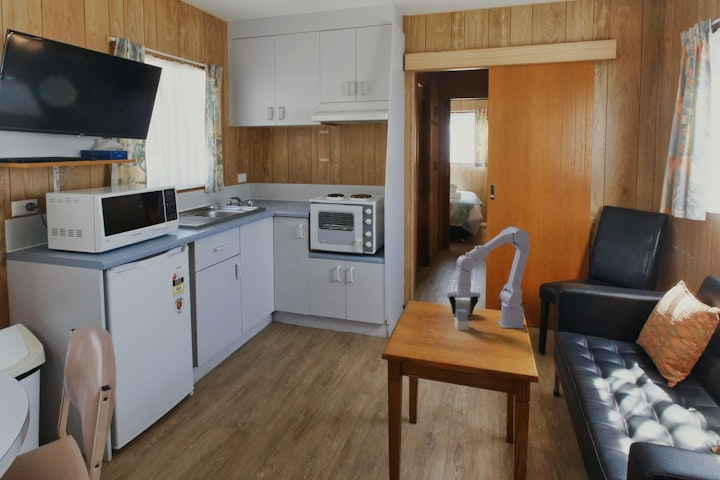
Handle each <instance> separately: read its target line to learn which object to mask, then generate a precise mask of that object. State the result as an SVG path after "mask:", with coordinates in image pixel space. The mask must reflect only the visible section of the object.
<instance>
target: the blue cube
mask: <svg viewBox="0 0 720 480" xmlns="http://www.w3.org/2000/svg"><path fill="white" fill-rule="evenodd" d="M468 317H469V315H468V312H467V311H466V309H457V310H456V316H455V318H456V319H457V320H458V321H467V319H468ZM468 320H469V319H468Z"/></svg>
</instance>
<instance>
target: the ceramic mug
mask: <svg viewBox="0 0 720 480" xmlns="http://www.w3.org/2000/svg"><path fill="white" fill-rule="evenodd" d="M455 300H456V304H455V314H453V313H452V315H453V316H455V317H456V310H457V309H466V311H467V312H468V316H471V315H472V314H470V299H461V298H460V299H459V298H455Z"/></svg>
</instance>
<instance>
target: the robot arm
mask: <svg viewBox="0 0 720 480" xmlns="http://www.w3.org/2000/svg"><path fill="white" fill-rule="evenodd" d="M503 244H512V245H513V246H514V248H515V249H516V250H515V254H514V258H513V261H512V265H511V269H510V273H509V276H508V281H507V283H506V284H505V285H503V289H502V290H500V293H499V299H500V301H501V307H500V308H501V310H500V319H499V320H497V321H496V322H497V323H498V324H499V326H500V327H501V328H502V329H523V328H525V327H524V319H525V318H524V317H525V310H524V307H523V306H522V304H523V298H522V295H523V291H522V288H521V284H522V280H523V277H524V273H525V269H526V265H527V262H528V259H529V255H530V251H531V244H530V235H529V233H528V232H527V231H526V230H525V229H521V228H518V227H516V226H514V225H510V226H508V227H506V228H505V229H503V230H502V231H501V232H499V233H498V235H496V236H495V237H493V238H492V239H490V240H489V241H488V242H486V244H484V245H475V246H474V249H472V250H470V251H469V252H466V253H465V254H462V255H460V256H459V257H458V258H457V259H456V261H455V264H456V266H457V279H456V280H457V282H456V291H451V292H446V294H445V297H446V299H448V300H449V301H448V302H449V303H450V306H451V307H450V308H451V313H452V315H453V314H455V304H456V300H455V299H459V298H460V299H461V298H462V299H464V298H465V299H466V298H468V299H469V301H470V314H471V315H473V313H474V309H475V307H476V306H477V304H478V302H479V299H481V295H482V294H481V293H480V292H476V291H475V292H474V291H473V292H472V291H471V286H472V272H473V271H472V270H473V269H474V268H475V265H476V264H478V263H480V262H482V260H484V259H486V258H487V257H488V255H489V252H491V251H493V250H495V249H496V248H499V246H502V245H503Z"/></svg>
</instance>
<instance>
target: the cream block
mask: <svg viewBox="0 0 720 480" xmlns="http://www.w3.org/2000/svg"><path fill="white" fill-rule="evenodd" d="M453 327H455V329H456V331H469V330H470V321H469V319H467V321H458V320H457V319H456V317H454V324H453Z"/></svg>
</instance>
